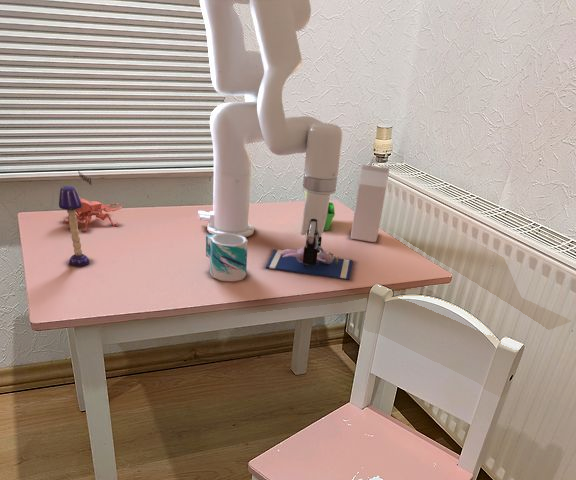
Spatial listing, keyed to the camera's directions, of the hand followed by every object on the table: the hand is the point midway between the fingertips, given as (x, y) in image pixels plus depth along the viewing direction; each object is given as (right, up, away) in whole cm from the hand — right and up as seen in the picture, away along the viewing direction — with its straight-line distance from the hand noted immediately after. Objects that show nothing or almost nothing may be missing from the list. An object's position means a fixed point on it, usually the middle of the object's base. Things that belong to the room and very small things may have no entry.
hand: (311, 257), depth 140 cm
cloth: (0, -2, +1) cm, 2 cm away
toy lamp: (-53, -3, -9) cm, 54 cm away
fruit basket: (+3, +15, +27) cm, 31 cm away
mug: (-21, -5, -6) cm, 22 cm away
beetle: (-57, +12, +13) cm, 60 cm away
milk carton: (+16, +10, +22) cm, 29 cm away
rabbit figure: (-1, -2, +1) cm, 2 cm away
